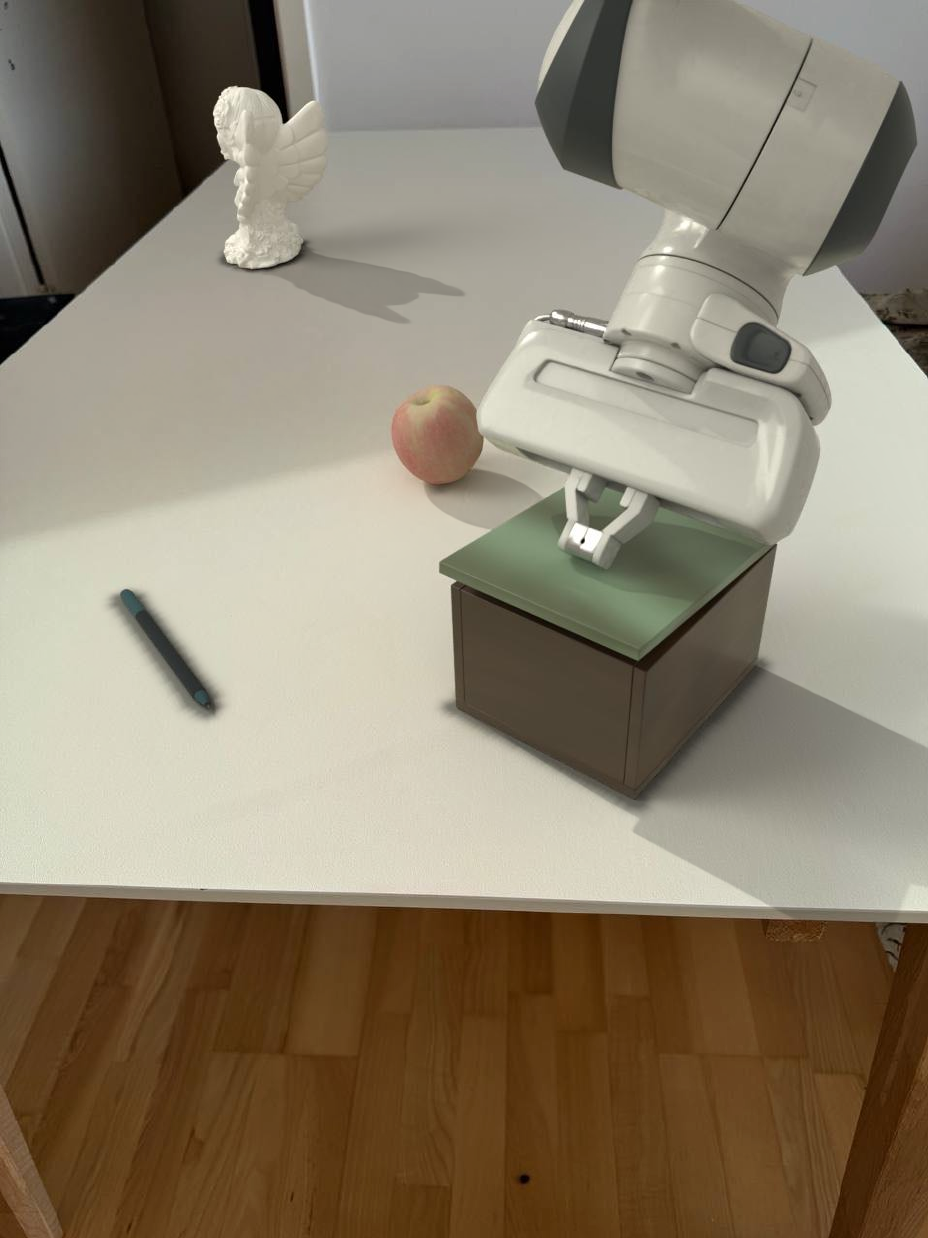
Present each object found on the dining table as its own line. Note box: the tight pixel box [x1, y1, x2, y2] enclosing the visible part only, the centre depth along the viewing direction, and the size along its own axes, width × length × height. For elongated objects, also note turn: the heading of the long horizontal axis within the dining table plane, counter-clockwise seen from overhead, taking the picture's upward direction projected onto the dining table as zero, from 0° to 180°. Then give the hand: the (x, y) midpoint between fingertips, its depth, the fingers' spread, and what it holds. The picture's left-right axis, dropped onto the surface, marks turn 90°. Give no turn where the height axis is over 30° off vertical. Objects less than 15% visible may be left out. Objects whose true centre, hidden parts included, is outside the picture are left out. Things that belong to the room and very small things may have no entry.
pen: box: [119, 588, 210, 708], centre depth 77 cm, size 1×16×1 cm, turn 34°
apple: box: [390, 384, 485, 485], centre depth 93 cm, size 8×8×8 cm
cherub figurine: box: [212, 85, 330, 270], centre depth 137 cm, size 13×12×20 cm
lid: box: [438, 486, 777, 661], centre depth 66 cm, size 17×14×1 cm
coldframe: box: [450, 543, 778, 800], centre depth 70 cm, size 16×14×10 cm
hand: (581, 559), depth 63 cm, fingers closed, pressing on lid
